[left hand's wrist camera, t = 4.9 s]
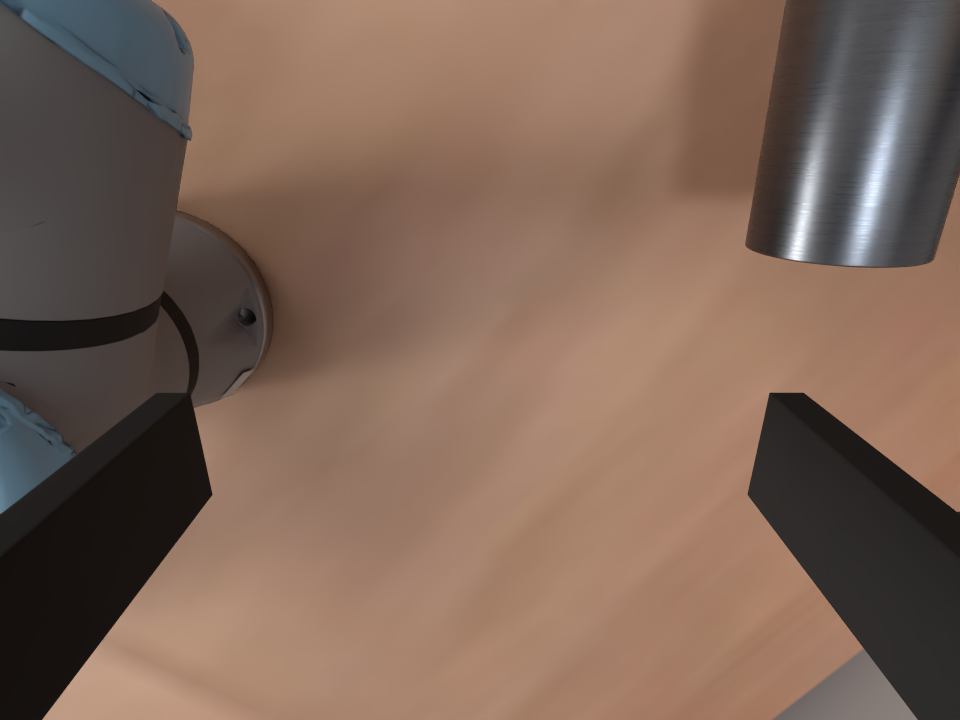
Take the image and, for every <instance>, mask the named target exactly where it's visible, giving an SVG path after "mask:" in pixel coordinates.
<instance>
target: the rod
mask: <svg viewBox="0 0 960 720" xmlns="http://www.w3.org/2000/svg"><path fill="white" fill-rule="evenodd" d="M959 174H960V0H786V4H785V10H784V16H783V22H782V28H781V34H780V40H779V46H778V52H777V58H776V64H775V70H774V76H773V82H772V88H771V94H770V100H769V106H768V112H767V118H766V124H765V130H764V136H763V142H762V148H761V153H760V159H759V165H758V171H757V177H756V183H755V189H754V195H753V201H752V207H751V213H750V219H749V225H748V231H747V237H746V243H745V245H746V247H747V248H749V249H750V250H752V251H754V252H757V253H760V254H763V255H767V256H771V257H775V258H780V259H785V260H791V261H797V262H805V263H813V264H821V265H832V266H846V267H868V268H892V267H909V266H917V265H922V264H927V263H929V262H931V261H933V260H934V257H935V254H936V251H937V247H938V244H939V241H940V237H941V234H942V231H943V227H944V224H945V221H946V217H947V214H948V211H949V207H950V204H951V201H952V198H953V194H954V191H955V188H956V184H957V181H958V178H959Z"/></svg>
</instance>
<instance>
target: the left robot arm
mask: <svg viewBox="0 0 960 720" xmlns="http://www.w3.org/2000/svg"><path fill="white" fill-rule="evenodd" d="M193 70H194V58H193V52H192V48H191V45H190V42H189V40H188V38H187V36H186V34H185V32H184V31H183V29H182V28H181V27H180V25H179V24H178V23H177V22H176V20H175V19H174V18H173V17H172V16H171V15H170V14H169V13H168V12H166V11H165V10H164V9H163V8H161V7H160V6H159V5H157V4H156V3H154V2H153V1H151V0H0V720H42V719H43V718H44V716H45V715H46V714H47V712H48V711H49V710H50V709H51V707H52V706H53V705H54V703H55V702H56V701H57V699H58V698H59V697H60V695H61V694H62V693H63V691H64V690H65V689H66V687H67V686H68V685H69V683H70V682H71V681H72V679H73V678H74V677H75V675H76V674H77V673H78V672H79V670H80V669H81V668H82V666H83V665H84V664H85V662H86V661H87V660H88V658H89V657H90V656H91V654H92V653H93V652H94V650H95V649H96V648H97V646H98V645H99V644H100V642H101V641H102V640H103V639H104V637H105V636H106V635H107V633H108V632H109V631H110V629H111V628H112V627H113V625H114V624H115V623H116V621H117V620H118V619H119V617H120V616H121V615H122V613H123V612H124V611H125V609H126V608H127V607H128V606H129V604H130V603H131V602H132V600H133V599H134V598H135V596H136V595H137V594H138V592H139V591H140V590H141V588H142V587H143V586H144V584H145V583H146V582H147V580H148V579H149V578H150V576H151V575H152V574H153V572H154V571H155V570H156V569H157V567H158V566H159V565H160V563H161V562H162V561H163V559H164V558H165V557H166V555H167V554H168V553H169V551H170V550H171V549H172V547H173V546H174V545H175V543H176V542H177V541H178V539H179V538H180V537H181V536H182V534H183V533H184V532H185V530H186V529H187V528H188V526H189V525H190V524H191V522H192V521H193V520H194V518H195V517H196V516H197V514H198V513H199V512H200V510H201V509H202V508H203V506H204V505H205V504H206V502H207V501H208V500H209V499H210V497H211V496H212V490H211V486H210V481H209V477H208V472H207V467H206V463H205V458H204V454H203V449H202V444H201V440H200V435H199V431H198V426H197V421H196V417H195V412H194V408H195V407H198V406H201V405H205V404H209V403H212V402H215V401H217V400H220V399H222V398H224V397H227V396H229V395H232V394H233V393H234V392H235V391H236V390H237V389H238V388H239V387H240V386H241V385H242V384H243V383H244V382H245V381H246V380H247V379H248V378H249V377H250V376H251V375H252V374H253V373H254V372H255V370H256V369H257V368H258V367H259V365H260V364H261V362H262V360H263V359H264V357H265V355H266V353H267V350H268V347H269V344H270V341H271V336H272V328H273V315H272V307H271V302H270V298H269V294H268V291H267V288H266V286H265V284H264V281H263V279H262V277H261V275H260V273H259V272H258V270H257V268H256V267H255V265H254V264H253V262H252V261H251V260H250V258H249V257H248V256H247V254H246V253H245V252H244V251H243V250H242V249H241V248H240V247H239V246H238V245H237V244H236V243H235V242H234V241H233V240H232V239H231V238H230V237H228V236H227V235H226V234H224V233H223V232H222V231H220V230H219V229H217V228H216V227H214V226H213V225H211V224H209V223H207V222H205V221H203V220H201V219H199V218H197V217H194V216H192V215H189V214H186V213H183V212H179V211H176V207H177V201H178V195H179V189H180V182H181V176H182V170H183V164H184V157H185V151H186V145H187V140H190V141H191V139H192V131H191V128H190V126H189V124H188V121H189V110H190V100H191V90H192V80H193ZM748 496H749V497H750V499H751V500H752V501H753V502H754V504H755V505H756V506H757V508H758V509H759V510H760V512H761V513H762V514H763V516H764V517H765V518H766V520H767V521H768V522H769V524H770V525H771V526H772V528H773V529H774V530H775V532H776V533H777V534H778V536H779V537H780V538H781V539H782V541H783V542H784V543H785V545H786V546H787V547H788V549H789V550H790V551H791V553H792V554H793V555H794V557H795V558H796V559H797V561H798V562H799V563H800V565H801V566H802V567H803V569H804V570H805V571H806V572H807V574H808V575H809V576H810V578H811V579H812V580H813V582H814V583H815V584H816V586H817V587H818V588H819V590H820V591H821V592H822V594H823V595H824V596H825V598H826V599H827V600H828V602H829V603H830V604H831V606H832V607H833V608H834V609H835V611H836V612H837V613H838V615H839V616H840V617H841V619H842V620H843V621H844V623H845V624H846V625H847V627H848V628H849V629H850V631H851V632H852V633H853V635H854V636H855V637H856V639H857V640H858V641H859V642H860V644H861V645H862V646H863V648H864V649H865V650H866V652H867V653H868V654H869V656H870V657H871V658H872V660H873V661H874V662H875V664H876V665H877V666H878V668H879V669H880V670H881V672H882V673H883V674H884V676H885V677H886V678H887V679H888V681H889V682H890V683H891V685H892V686H893V687H894V689H895V690H896V691H897V693H898V694H899V695H900V697H901V698H902V699H903V701H904V702H905V703H906V705H907V706H908V707H909V708H910V710H911V711H912V712H913V714H914V715H915V716H916V718H917V719H918V720H960V512H956V511H955V510H954V509H952V508H951V507H950V506H948V505H947V504H946V503H945V502H943V501H942V500H941V499H939V498H938V497H937V496H936V495H934V494H933V493H932V492H930V491H929V490H928V489H927V488H925V487H924V486H923V485H921V484H920V483H919V482H918V481H916V480H915V479H914V478H912V477H911V476H910V475H909V474H907V473H906V472H905V471H903V470H902V469H901V468H900V467H898V466H897V465H896V464H894V463H893V462H892V461H891V460H889V459H888V458H887V457H885V456H884V455H883V454H882V453H880V452H879V451H878V450H876V449H875V448H874V447H873V446H871V445H870V444H869V443H867V442H866V441H865V440H864V439H862V438H861V437H860V436H858V435H857V434H856V433H855V432H853V431H852V430H851V429H849V428H848V427H847V426H846V425H844V424H843V423H842V422H840V421H839V420H838V419H837V418H835V417H834V416H833V415H831V414H830V413H829V412H828V411H826V410H825V409H824V408H822V407H821V406H820V405H819V404H817V403H816V402H815V401H813V400H812V399H811V398H810V397H808V396H807V395H806V394H804V393H770V394H769V398H768V403H767V408H766V412H765V417H764V421H763V426H762V431H761V435H760V440H759V444H758V449H757V454H756V458H755V463H754V467H753V472H752V477H751V481H750V486H749V490H748Z"/></svg>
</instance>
